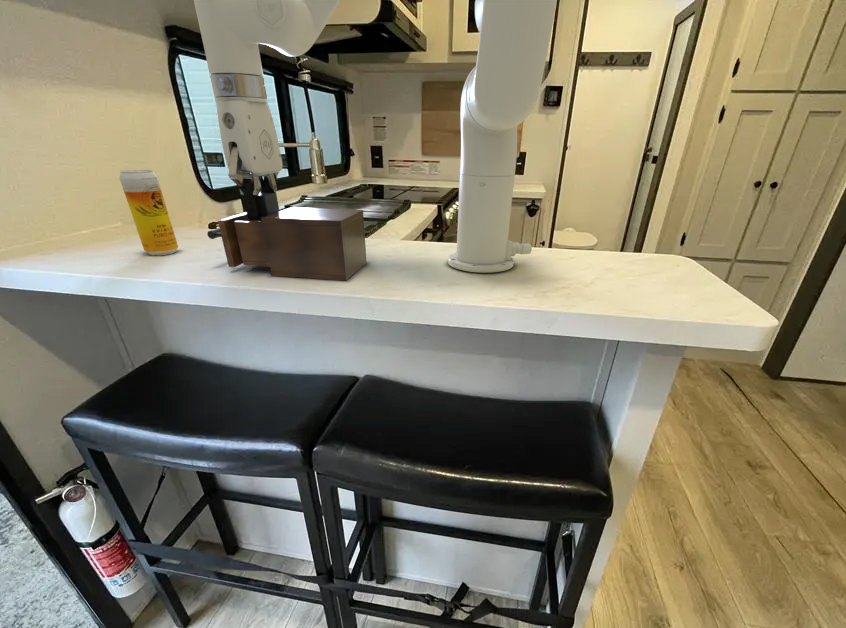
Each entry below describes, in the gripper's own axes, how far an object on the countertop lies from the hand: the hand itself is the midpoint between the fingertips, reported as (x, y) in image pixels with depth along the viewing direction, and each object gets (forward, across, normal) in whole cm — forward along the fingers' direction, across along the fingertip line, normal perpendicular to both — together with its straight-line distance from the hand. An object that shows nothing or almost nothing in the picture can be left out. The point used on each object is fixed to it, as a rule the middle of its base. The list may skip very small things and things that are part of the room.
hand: (264, 217), depth 73 cm
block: (0, 0, 0) cm, 0 cm away
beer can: (+9, +5, +27) cm, 29 cm away
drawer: (+8, 0, +2) cm, 8 cm away
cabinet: (+9, 0, -9) cm, 13 cm away
